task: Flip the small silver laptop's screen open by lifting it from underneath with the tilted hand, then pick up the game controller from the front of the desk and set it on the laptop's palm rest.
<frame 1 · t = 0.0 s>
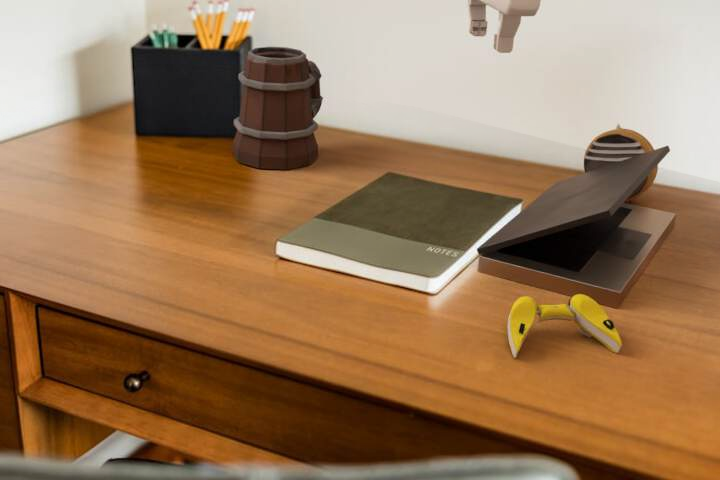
hand: (489, 43, 105), 21 cm above the table, tool pointing down, fingers open, 8 cm apart
striped round disc: (614, 200, 119), on the table
laptop screen: (579, 197, 101), point 6 cm above the table, hinge at 30.0°
game controller: (555, 343, 82), on the table
mug: (284, 155, 130), on the table
laptop: (582, 247, 103), on the table
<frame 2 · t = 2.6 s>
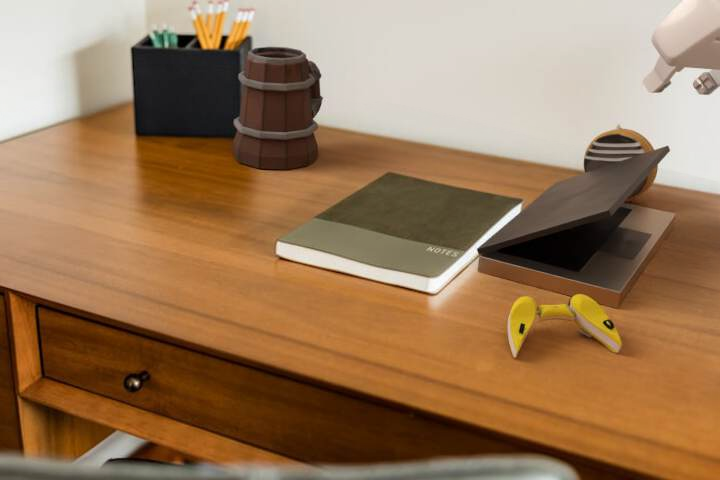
hand: (675, 89, 92), 20 cm above the table, tool tilted 40°, fingers open, 8 cm apart
nothing on the table moved.
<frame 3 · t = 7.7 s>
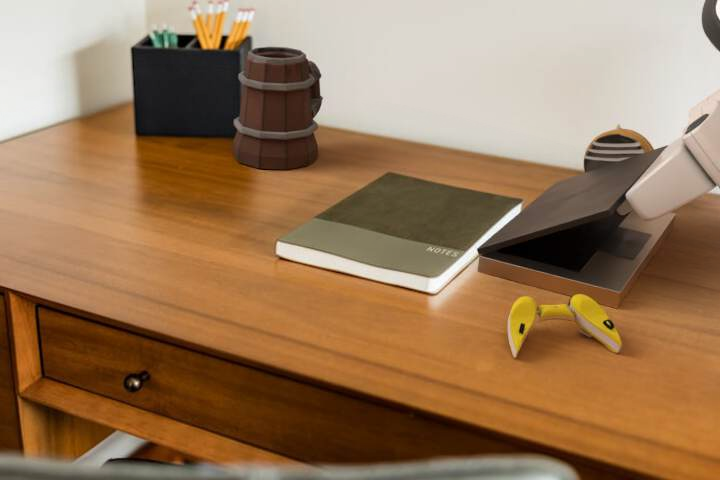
hand: (619, 206, 99), 6 cm above the table, tool tilted 45°, fingers closed, pressing on laptop screen
laptop screen: (579, 197, 101), point 6 cm above the table, hinge at 30.2°, touching gripper
everything else where it was.
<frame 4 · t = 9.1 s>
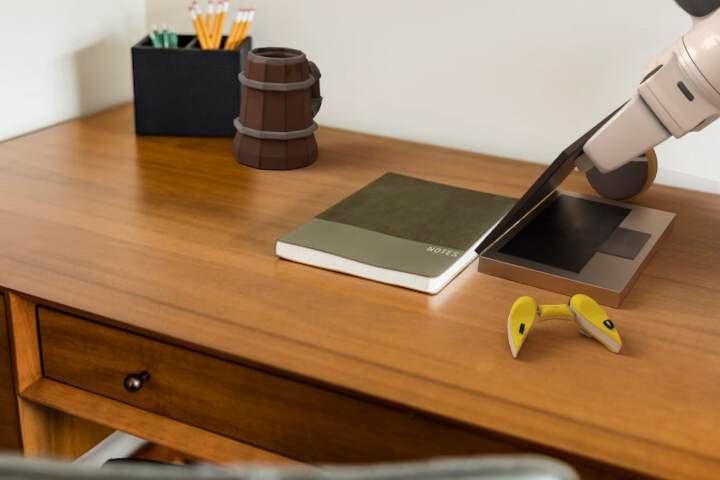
hand: (580, 164, 99), 10 cm above the table, tool tilted 45°, fingers closed, pressing on laptop screen
laptop screen: (559, 172, 101), point 8 cm above the table, hinge at 57.7°, touching gripper
everything else where it was.
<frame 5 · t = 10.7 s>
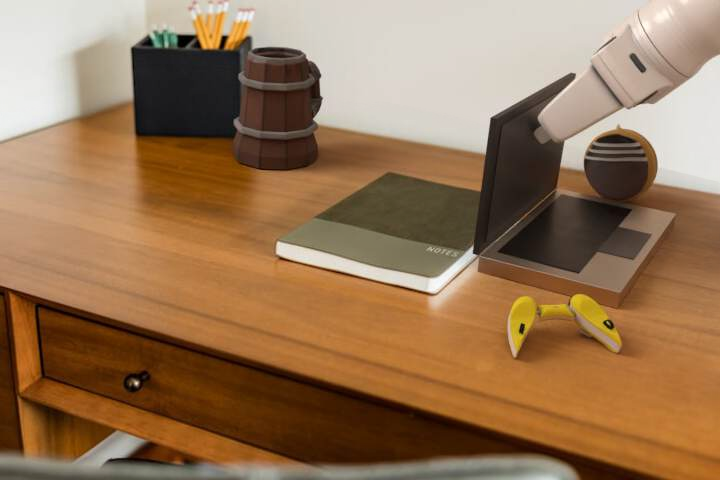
hand: (541, 136, 101), 12 cm above the table, tool tilted 45°, fingers closed
laptop screen: (528, 157, 103), point 9 cm above the table, hinge at 88.4°
everything else where it was.
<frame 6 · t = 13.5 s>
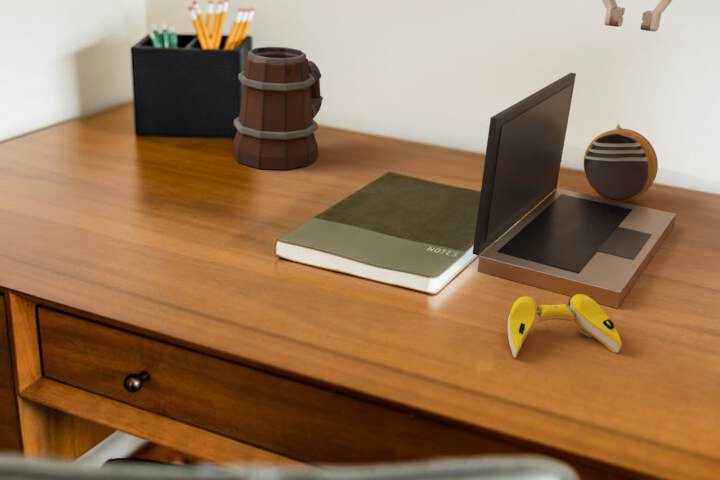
hand: (631, 27, 92), 25 cm above the table, tool pointing down, fingers closed
nothing on the table moved.
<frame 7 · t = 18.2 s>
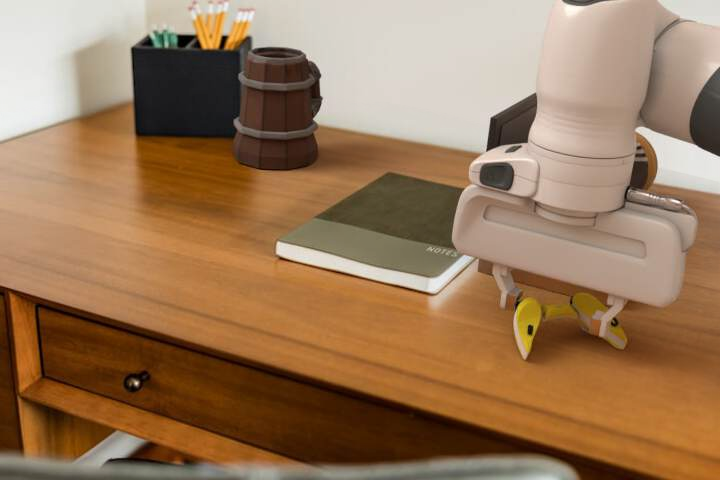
hand: (553, 320, 82), 2 cm above the table, tool pointing down, fingers closed on game controller, 7 cm apart
game controller: (560, 343, 83), on the table, touching gripper
everything else where it was.
when the fingers open (4 cm above the table, at t = 24.5 s): game controller stays where it is, resting on laptop.
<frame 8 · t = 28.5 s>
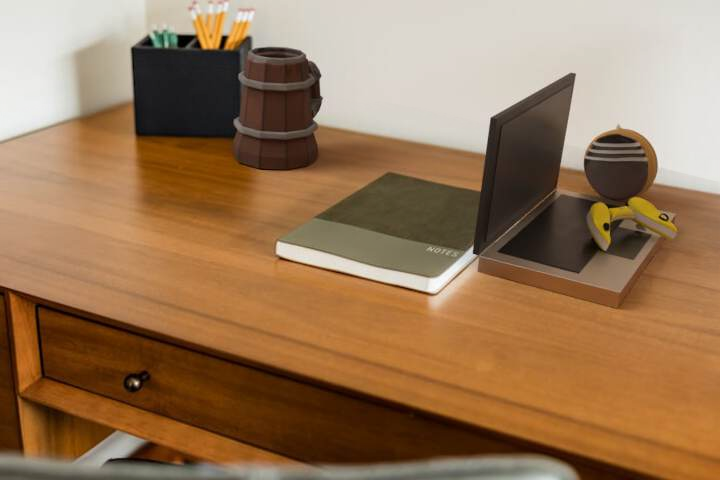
game controller: (623, 238, 101), point 2 cm above the table, touching laptop
everything else where it was.
at the end: laptop screen at +88° (first picture: +30°); game controller inside the target area on the laptop (1.6 cm from its centre), point 1.7 cm above the laptop's base; the gripper is holding nothing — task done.
